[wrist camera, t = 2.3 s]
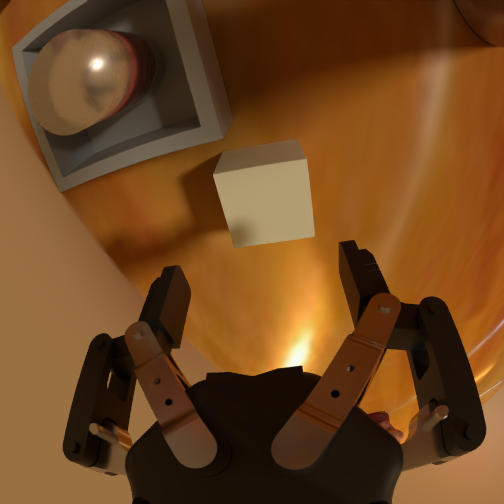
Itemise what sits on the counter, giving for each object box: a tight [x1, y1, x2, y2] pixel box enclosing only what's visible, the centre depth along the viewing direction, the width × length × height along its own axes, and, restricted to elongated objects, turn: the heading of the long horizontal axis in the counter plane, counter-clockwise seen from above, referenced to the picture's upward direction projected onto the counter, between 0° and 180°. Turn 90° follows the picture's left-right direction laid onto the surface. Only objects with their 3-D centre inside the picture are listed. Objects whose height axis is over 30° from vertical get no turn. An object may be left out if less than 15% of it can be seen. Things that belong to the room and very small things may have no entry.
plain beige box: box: [213, 139, 315, 248], centre depth 20 cm, size 6×6×5 cm
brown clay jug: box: [369, 412, 403, 443], centre depth 59 cm, size 20×12×14 cm, turn 118°
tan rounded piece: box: [28, 29, 165, 135], centre depth 12 cm, size 6×6×8 cm
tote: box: [12, 0, 233, 193], centre depth 14 cm, size 13×13×6 cm
